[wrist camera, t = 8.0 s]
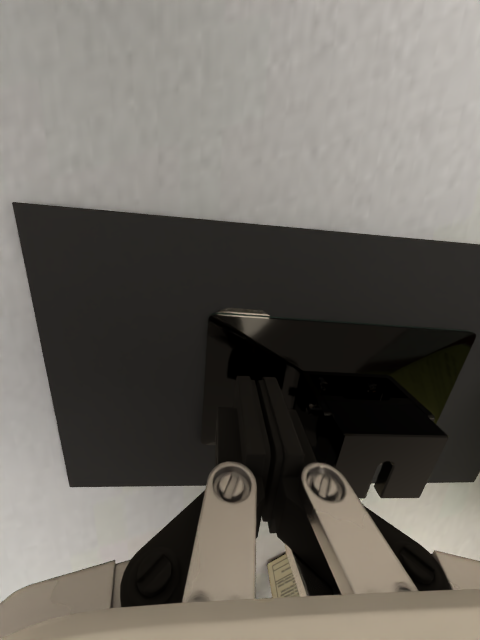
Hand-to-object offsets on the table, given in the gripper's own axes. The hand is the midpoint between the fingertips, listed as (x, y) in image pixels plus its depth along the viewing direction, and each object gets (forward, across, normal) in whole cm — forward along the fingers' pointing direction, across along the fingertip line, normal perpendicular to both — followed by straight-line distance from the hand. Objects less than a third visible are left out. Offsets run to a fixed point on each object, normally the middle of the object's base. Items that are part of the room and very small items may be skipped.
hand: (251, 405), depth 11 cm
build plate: (+2, -4, 0) cm, 4 cm away
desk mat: (+2, -3, 0) cm, 4 cm away
